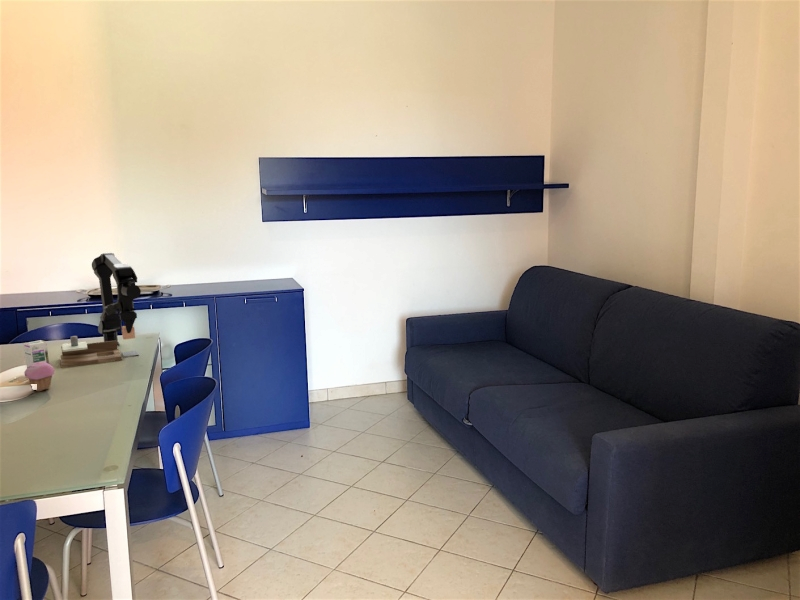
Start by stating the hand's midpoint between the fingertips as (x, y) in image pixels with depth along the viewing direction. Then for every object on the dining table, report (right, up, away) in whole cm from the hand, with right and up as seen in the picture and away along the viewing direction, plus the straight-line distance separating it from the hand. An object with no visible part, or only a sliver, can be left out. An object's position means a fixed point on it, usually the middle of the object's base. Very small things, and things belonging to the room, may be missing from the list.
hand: (128, 331), depth 256 cm
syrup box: (-18, -16, -34) cm, 42 cm away
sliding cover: (-19, -6, -7) cm, 21 cm away
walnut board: (-13, -11, -6) cm, 18 cm away
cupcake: (-10, -18, -46) cm, 50 cm away
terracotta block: (0, -3, 0) cm, 2 cm away
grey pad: (0, -10, +2) cm, 10 cm away
